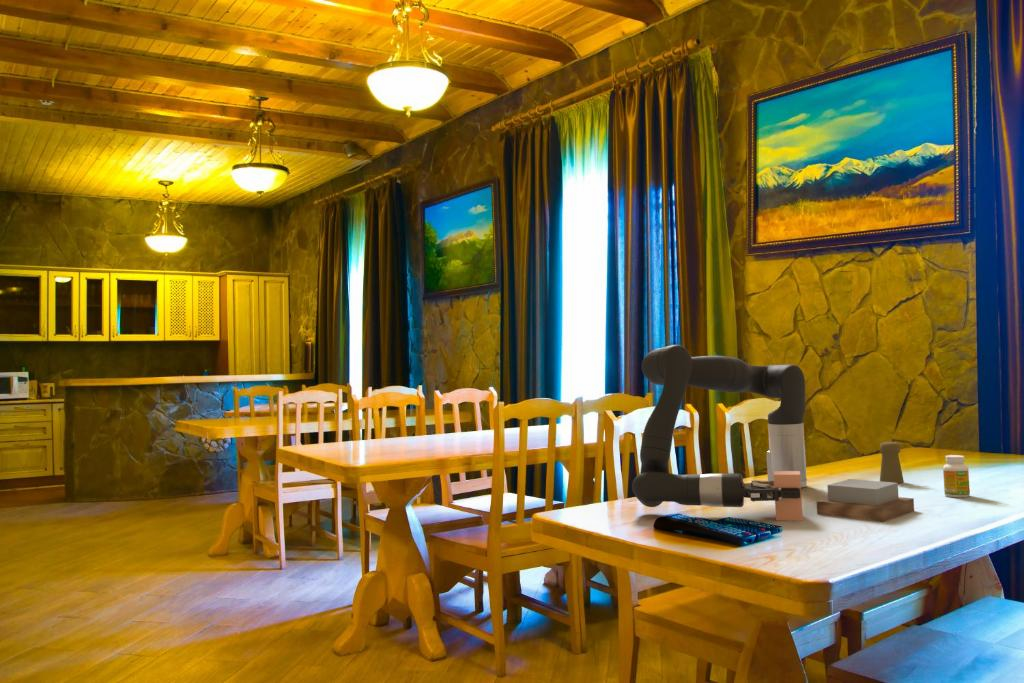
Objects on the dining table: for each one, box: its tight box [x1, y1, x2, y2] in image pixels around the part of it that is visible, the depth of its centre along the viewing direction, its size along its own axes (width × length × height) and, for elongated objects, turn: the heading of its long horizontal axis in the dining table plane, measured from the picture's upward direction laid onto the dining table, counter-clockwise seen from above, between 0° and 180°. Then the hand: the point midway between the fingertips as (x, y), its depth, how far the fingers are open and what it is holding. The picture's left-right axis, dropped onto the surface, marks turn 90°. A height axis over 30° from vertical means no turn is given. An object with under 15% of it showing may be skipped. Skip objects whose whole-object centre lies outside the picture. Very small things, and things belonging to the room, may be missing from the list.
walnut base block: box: [816, 496, 915, 523], centre depth 181 cm, size 15×15×4 cm
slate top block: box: [827, 478, 900, 505], centre depth 181 cm, size 11×11×4 cm
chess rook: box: [879, 441, 905, 485], centre depth 219 cm, size 6×6×11 cm
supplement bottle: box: [942, 454, 971, 499], centre depth 195 cm, size 5×5×10 cm
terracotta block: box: [774, 471, 804, 522], centre depth 179 cm, size 6×6×10 cm
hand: (799, 490), depth 178 cm, fingers closed on terracotta block, 5 cm apart
